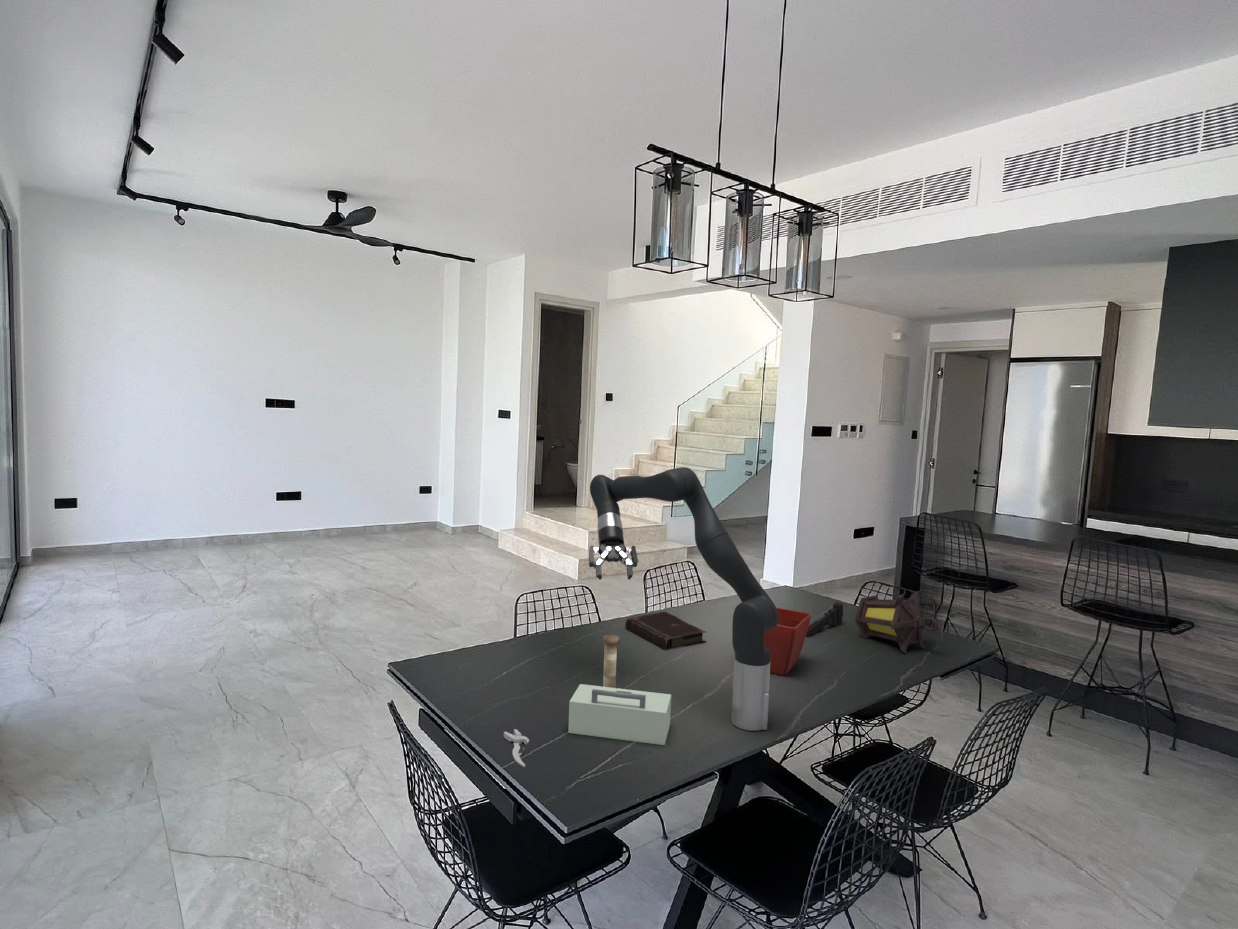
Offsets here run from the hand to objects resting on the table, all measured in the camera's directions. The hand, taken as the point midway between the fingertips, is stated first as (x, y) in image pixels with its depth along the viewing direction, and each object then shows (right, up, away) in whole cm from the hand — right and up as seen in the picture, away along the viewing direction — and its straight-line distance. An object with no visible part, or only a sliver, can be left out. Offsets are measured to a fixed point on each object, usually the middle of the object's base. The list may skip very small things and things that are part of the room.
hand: (615, 578), depth 199 cm
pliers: (-21, -35, -34) cm, 53 cm away
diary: (+18, -30, +51) cm, 61 cm away
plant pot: (+50, -33, +25) cm, 65 cm away
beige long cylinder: (-2, -33, -9) cm, 35 cm away
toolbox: (+1, -35, -24) cm, 43 cm away
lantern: (+101, -33, +50) cm, 117 cm away
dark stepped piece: (+78, -31, +64) cm, 106 cm away
